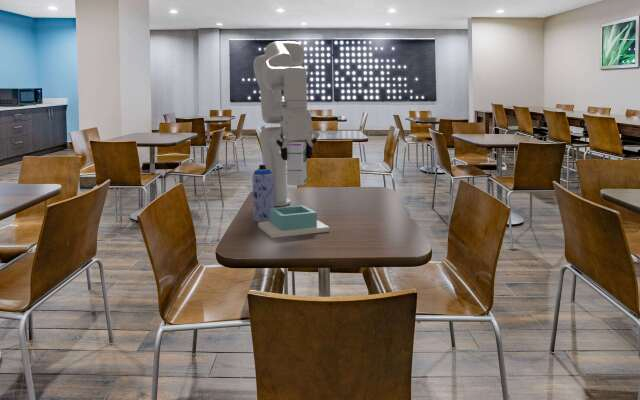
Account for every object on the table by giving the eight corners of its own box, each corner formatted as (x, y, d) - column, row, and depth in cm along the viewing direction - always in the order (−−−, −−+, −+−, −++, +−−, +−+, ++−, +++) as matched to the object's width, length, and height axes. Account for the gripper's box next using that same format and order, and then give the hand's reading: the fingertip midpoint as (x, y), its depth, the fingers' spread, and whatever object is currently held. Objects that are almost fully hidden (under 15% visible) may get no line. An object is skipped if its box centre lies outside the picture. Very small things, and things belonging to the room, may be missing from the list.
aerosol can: (250, 217, 200) (248, 164, 196) (270, 215, 203) (269, 163, 199) (256, 222, 193) (254, 167, 189) (277, 220, 196) (276, 165, 192)
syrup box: (303, 185, 178) (303, 141, 175) (286, 185, 179) (285, 141, 176) (307, 182, 184) (307, 140, 181) (290, 182, 185) (289, 139, 182)
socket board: (258, 226, 187) (257, 208, 186) (311, 220, 194) (311, 203, 193) (272, 238, 173) (271, 218, 171) (329, 231, 180) (329, 212, 179)
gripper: (273, 106, 169) (275, 162, 173) (324, 105, 176) (324, 158, 180) (266, 106, 176) (268, 159, 180) (315, 104, 183) (316, 156, 187)
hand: (296, 158), depth 180 cm, fingers closed on syrup box, 7 cm apart
